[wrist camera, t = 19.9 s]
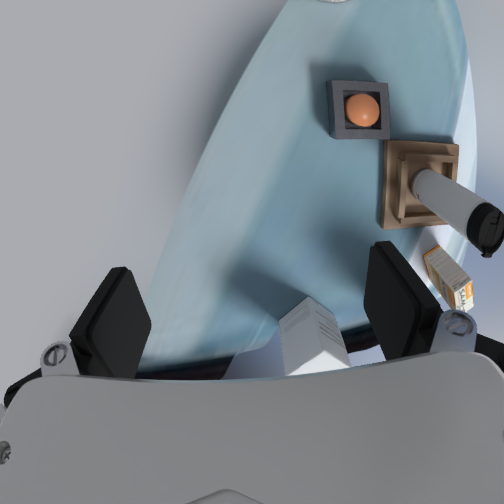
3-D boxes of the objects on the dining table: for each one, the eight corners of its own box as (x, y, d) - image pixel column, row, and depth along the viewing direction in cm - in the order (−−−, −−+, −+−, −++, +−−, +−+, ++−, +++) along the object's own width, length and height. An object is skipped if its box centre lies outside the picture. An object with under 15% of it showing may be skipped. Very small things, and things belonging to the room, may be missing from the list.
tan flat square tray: (383, 139, 41) (392, 142, 38) (454, 143, 41) (465, 147, 38) (380, 226, 49) (387, 234, 46) (446, 221, 48) (455, 228, 45)
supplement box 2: (421, 255, 52) (453, 292, 41) (439, 244, 51) (472, 278, 40) (429, 281, 56) (457, 319, 44) (445, 270, 54) (475, 306, 43)
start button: (341, 93, 37) (347, 93, 35) (371, 94, 37) (378, 94, 34) (343, 124, 39) (349, 126, 37) (373, 125, 39) (379, 126, 37)
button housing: (325, 81, 37) (331, 80, 34) (378, 84, 37) (387, 83, 34) (329, 136, 42) (335, 139, 39) (381, 136, 41) (390, 139, 38)
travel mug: (406, 200, 45) (472, 258, 28) (413, 164, 42) (489, 208, 24) (432, 204, 45) (499, 259, 28) (440, 170, 42) (515, 215, 25)
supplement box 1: (305, 338, 63) (315, 392, 50) (277, 320, 60) (283, 377, 47) (336, 315, 59) (353, 369, 46) (309, 294, 57) (323, 350, 43)
